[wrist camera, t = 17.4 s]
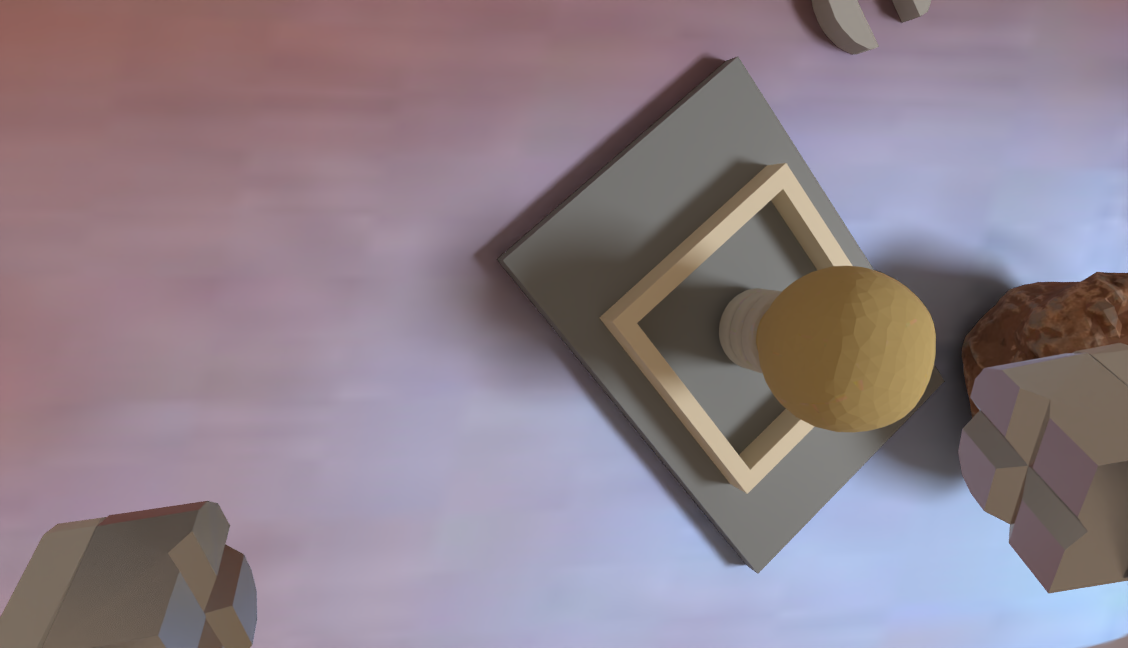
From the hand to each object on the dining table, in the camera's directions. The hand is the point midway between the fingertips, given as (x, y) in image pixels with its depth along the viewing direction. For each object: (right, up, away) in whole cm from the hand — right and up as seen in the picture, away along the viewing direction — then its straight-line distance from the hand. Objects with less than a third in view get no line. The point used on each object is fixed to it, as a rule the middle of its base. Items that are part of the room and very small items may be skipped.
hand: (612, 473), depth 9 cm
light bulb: (+8, +2, +29) cm, 30 cm away
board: (+8, +2, +30) cm, 31 cm away
